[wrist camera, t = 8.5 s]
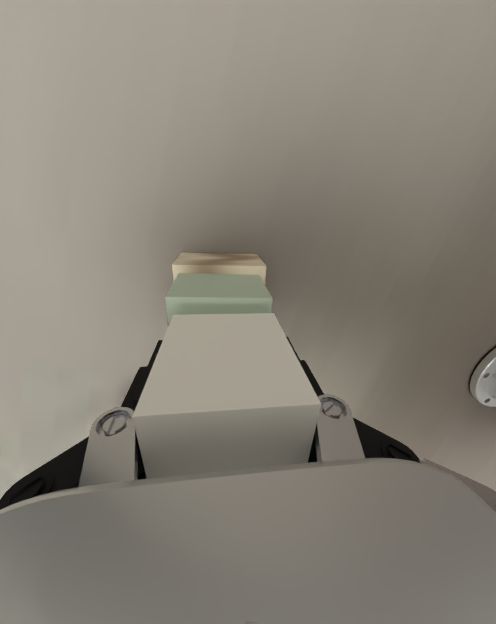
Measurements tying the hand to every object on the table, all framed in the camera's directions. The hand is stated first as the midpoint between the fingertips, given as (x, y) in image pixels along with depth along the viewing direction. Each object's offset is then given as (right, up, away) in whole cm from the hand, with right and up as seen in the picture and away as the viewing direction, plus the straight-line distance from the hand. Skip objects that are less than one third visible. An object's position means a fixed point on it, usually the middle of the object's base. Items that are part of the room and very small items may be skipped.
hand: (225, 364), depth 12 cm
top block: (0, 0, +1) cm, 1 cm away
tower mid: (-1, +3, +7) cm, 7 cm away
